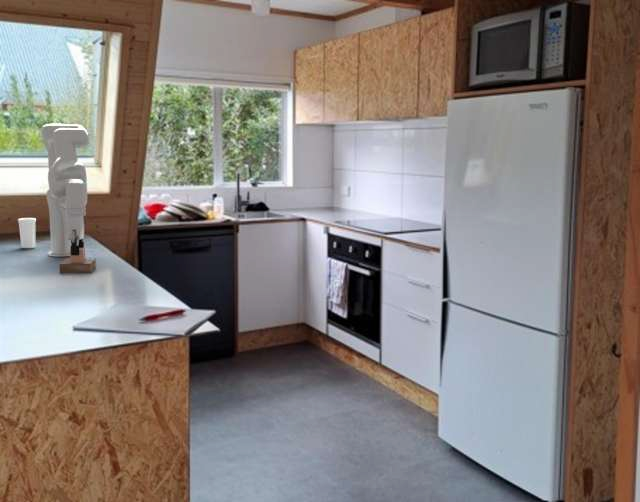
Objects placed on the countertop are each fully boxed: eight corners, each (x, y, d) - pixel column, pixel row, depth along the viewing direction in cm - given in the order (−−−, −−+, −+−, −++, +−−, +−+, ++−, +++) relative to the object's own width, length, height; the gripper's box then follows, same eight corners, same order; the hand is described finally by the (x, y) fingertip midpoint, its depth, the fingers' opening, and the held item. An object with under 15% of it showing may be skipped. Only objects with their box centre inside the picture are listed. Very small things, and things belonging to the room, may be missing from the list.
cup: (20, 246, 326) (18, 217, 323) (38, 246, 328) (36, 217, 326) (18, 249, 318) (16, 220, 316) (36, 249, 320) (35, 219, 318)
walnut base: (66, 267, 278) (65, 258, 278) (95, 267, 280) (95, 258, 280) (59, 273, 267) (59, 263, 266) (90, 273, 269) (90, 263, 268)
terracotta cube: (72, 259, 275) (72, 248, 274) (85, 259, 276) (84, 248, 275) (70, 262, 270) (69, 250, 269) (82, 262, 271) (82, 250, 270)
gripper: (70, 209, 277) (72, 249, 280) (61, 214, 260) (63, 257, 263) (89, 209, 278) (90, 249, 281) (81, 214, 262) (83, 256, 265)
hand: (77, 253), depth 272 cm, fingers open, 9 cm apart
